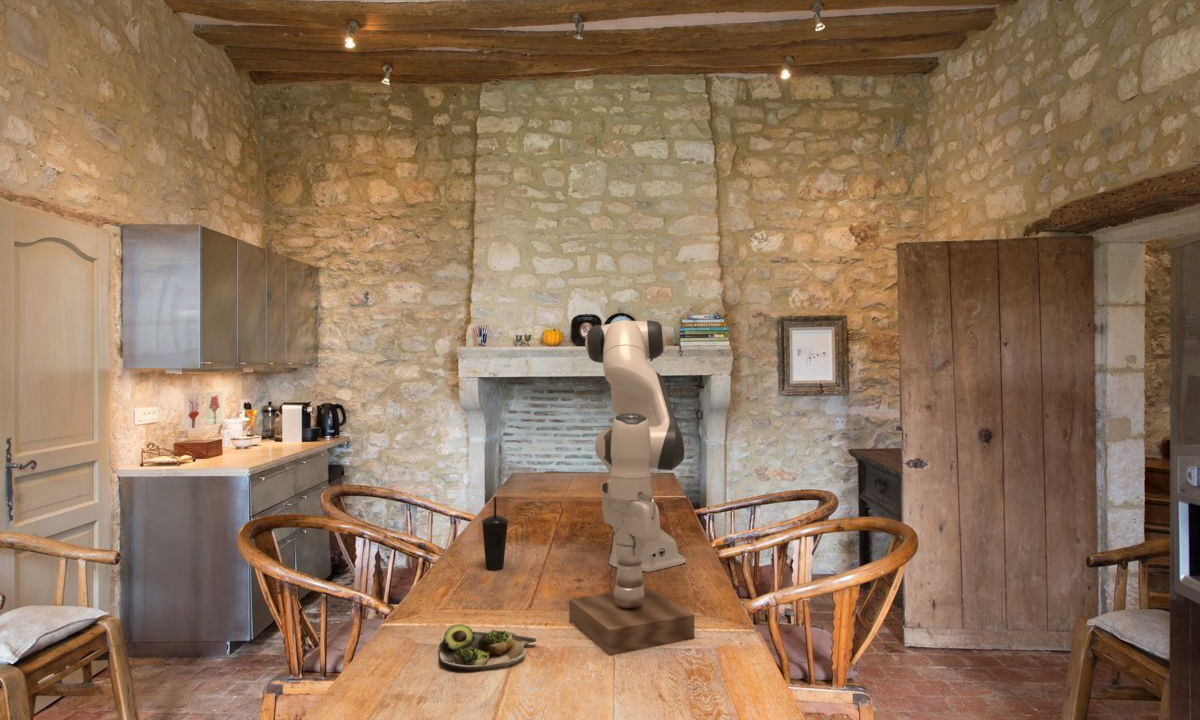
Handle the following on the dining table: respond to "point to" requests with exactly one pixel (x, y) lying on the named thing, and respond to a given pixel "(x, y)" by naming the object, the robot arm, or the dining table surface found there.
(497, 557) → the drinking cup
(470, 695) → the dining table surface
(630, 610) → the walnut base
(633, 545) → the plastic bottle
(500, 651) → the avocado toast plate
